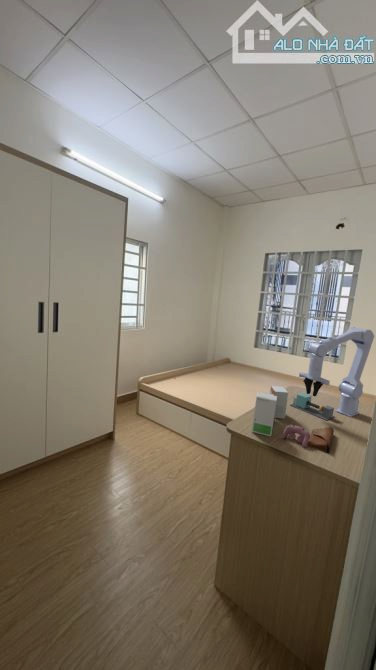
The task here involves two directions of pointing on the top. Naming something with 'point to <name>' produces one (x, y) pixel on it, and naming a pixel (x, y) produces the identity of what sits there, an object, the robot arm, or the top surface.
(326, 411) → the linear slider
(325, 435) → the sunglasses case
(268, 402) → the skincare box
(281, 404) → the small box
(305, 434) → the pink lumpy irregular piece
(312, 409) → the grey base plate
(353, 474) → the top surface
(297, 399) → the sleeve
